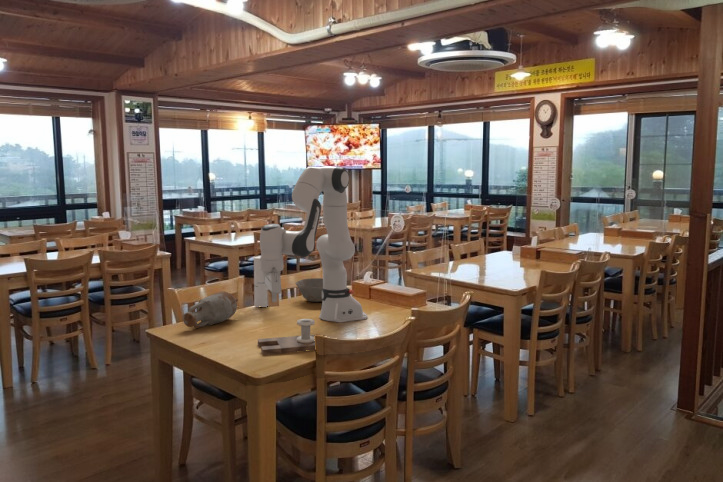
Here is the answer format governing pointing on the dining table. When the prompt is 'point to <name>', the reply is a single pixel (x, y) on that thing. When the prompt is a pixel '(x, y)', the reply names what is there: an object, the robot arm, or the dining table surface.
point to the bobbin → (305, 330)
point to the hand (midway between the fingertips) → (273, 300)
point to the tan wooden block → (269, 299)
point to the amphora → (211, 310)
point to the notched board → (283, 345)
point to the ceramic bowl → (311, 289)
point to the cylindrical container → (259, 285)
